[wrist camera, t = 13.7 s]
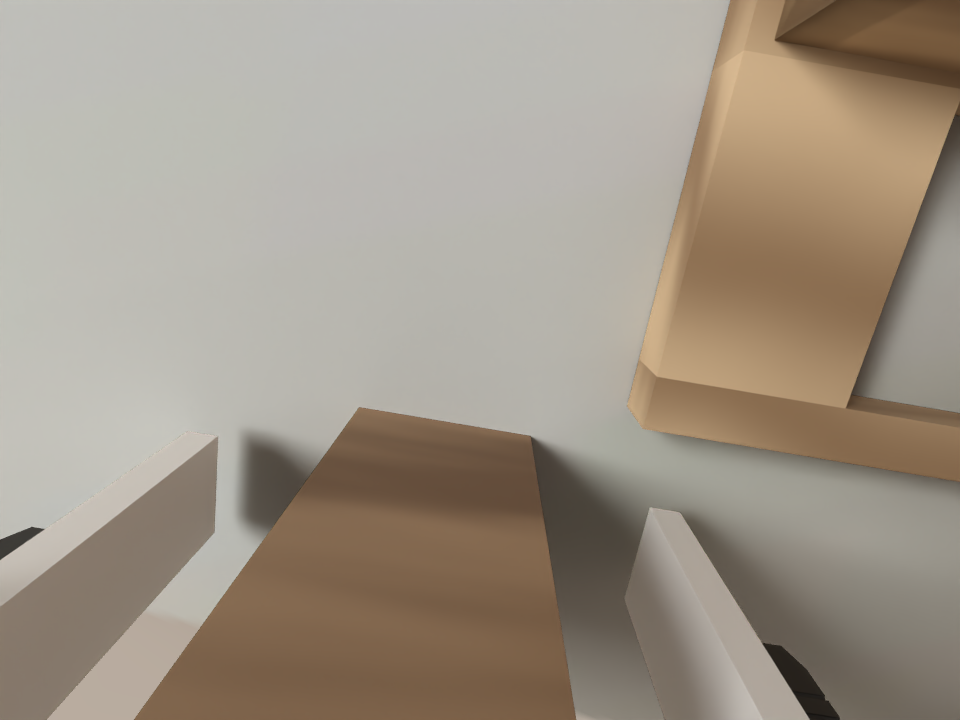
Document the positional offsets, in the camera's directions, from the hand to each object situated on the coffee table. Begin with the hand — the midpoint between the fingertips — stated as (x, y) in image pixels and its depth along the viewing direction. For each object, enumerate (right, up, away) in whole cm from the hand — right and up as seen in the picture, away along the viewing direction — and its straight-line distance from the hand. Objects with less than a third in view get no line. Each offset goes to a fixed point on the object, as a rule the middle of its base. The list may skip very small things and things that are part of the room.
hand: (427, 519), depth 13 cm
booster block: (0, 0, +1) cm, 1 cm away
